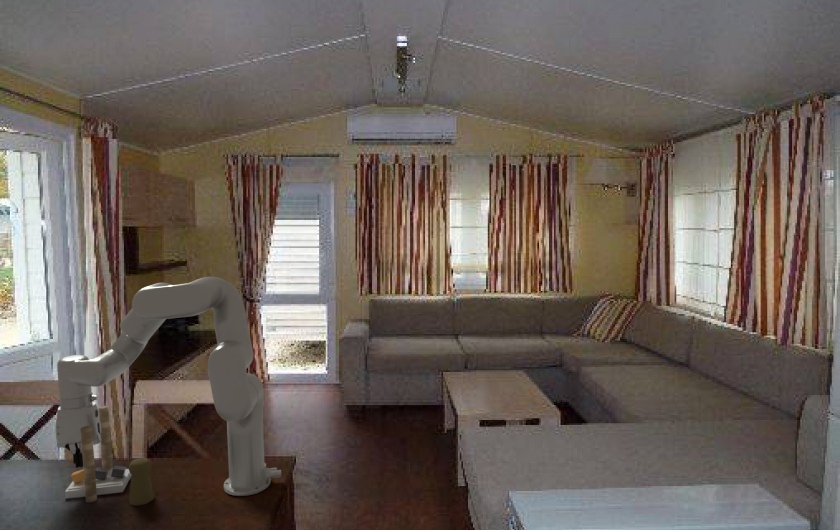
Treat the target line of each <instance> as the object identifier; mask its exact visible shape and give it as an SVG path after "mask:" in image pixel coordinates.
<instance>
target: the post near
mask: <svg viewBox="0 0 840 530" xmlns="http://www.w3.org/2000/svg"><path fill="white" fill-rule="evenodd" d="M80 430H81V443H82V456H83V467H82V468H83V469H84V483H85V496H84V497H85V502H86V503H88V504H89V503H93V502H96V501H97V500H98V495H97V490H96V476H95V470H96V467H95V466H96V465H95V453H94V452H95V451H94V445H93V435H92V426H85V427H82V428H81V429H80ZM81 443H80V444H81Z"/></svg>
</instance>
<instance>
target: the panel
mask: <svg viewBox="0 0 840 530" xmlns="http://www.w3.org/2000/svg"><path fill="white" fill-rule="evenodd" d="M111 475H112V471H108V474H107V478H106V479H105V480H98V479H96V490H97V496H101V495H109V494H110V495H111V494H118V493H123V492H124V490H125V489H126V487H127V485H128V483H129V481H131V473H130V471H129V468H126V470H125V475H124V477H123V478H116V477H111ZM64 496H65V499H74V498H83V497H84V498H85V497H86V496H85V483H84V480H83V481H80V482H77V483H74V482H73V480H72V482H71V483H70V484H69V486H68V487H67V488H66V489H65V491H64Z"/></svg>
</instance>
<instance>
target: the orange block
mask: <svg viewBox="0 0 840 530" xmlns="http://www.w3.org/2000/svg"><path fill="white" fill-rule="evenodd" d="M70 477H71V479H72V481H73V482H74V483H77V482H80V481H83V480H84V469H80V470H77V471H74V472H73V473H72V474H71V476H70Z"/></svg>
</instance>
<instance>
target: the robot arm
mask: <svg viewBox="0 0 840 530" xmlns="http://www.w3.org/2000/svg"><path fill="white" fill-rule="evenodd" d="M131 301H132V302H131V309H130V310H129V312H127V314H126V315H125V316H124V318H122V320H121V321H120V323H119V328H120V329H121V334H120V335H119V336H118V338H117V339H116V340H115V342H114V343H112V345H111V346H110V348H109V349H108V350H107V351H105V352H103V353H102V354H99V355H97V356H96V357H92V358H89V357H88V356H86V355H83V354H74V355H67V356H64V357H61V358H60V359H59V360H58V361H57V364H56V368H57V369H56V370H57V382H58V393H59V394H58V395H59V406H58V408H57V412H56V418H55V419H56V420H55V441H56V447H57V448H63V449H66V450H67V451H69V452H70V454H72V459H73V464H75V469H78V468H83V456H82V443H81V430H80V429H81V428H82V427H85V426H92V435H93V446H95V445H98V444H101V437H100V434H101V423H100V417H99V412H98V408H99V407H98V405H97V403H96V402H95V401H98V400H99V399H98V398H99V396H98V395H94V394H93V392H92V388H93V387H94V388H97V387H102V386H104V385H106V384H108V383H109V382H111V381H113V380H114V379H116V378H117V377H119V376H120V375H123V373H125V372H126V371H127V370H128V368H130V366H131V365H132V364H133V363H134V362H135V360H137V358H138V357H139V356H140V355H141V353H142V352H143V351H144V349H145V347H146V345H147V344H148V343H149V340H150V339H151V338H152V337H153V335H154V334H155V333H156V332H157V330H158V329H159V328H160V327H161V326H162V325H163V323H165V321H166V320H167V319H168V320H170V319H177V318H186V317H194V316H198V315H201V314H204V313H205V312H208V311H209V310H212V312H213V327H214V331H215V337H216V343H217V344H216V345H217V346H216V347H215V348H214V349H212V351H211V353H210V355H209V356H208V360H207V374H208V375H207V376H208V379H209V384H210V390H211V395H212V400H213V404H214V407H215V410H216V412H217V414H218V415H219V416H220V418H221V419H223V420H224V421H226V429H227V431H226V432H227V433H226V434H227V435H226V436H227V455H228V460H227V461H228V478H227V479H225V481H224V483H223V490H224V492H225V493H226V494H229V495H230V496H231V495H232V496H236V497H246V496H252V495H256V494H260V492H263V491H264V490H266V489H267V488H268V487H269V486H270V485H271V482H272V481H271V480H272V479H273V478H277V479H278V478H282V470H281V469H278V467H271V468H269V467H267V463H266V462H265V446H264V445H265V444H264V443H265V442H264V401H265V394H264V393H265V391H264V386H263V383H262V381H261V379H260V378H259V377H258V376H257V375H256V374H253V373H250V372H249V373H248V372H247V369H248V368H249V366H250V365H251V364H252V363H253V361H254V356H255V355H254V350H253V346H252V341H251V340H252V339H251V334H250V331H249V330H250V329H249V325H248V322H247V315H246V310H245V304H244V302H243V297H242V296H241V294H240V291H239V290H238V289H237V288H236V287H235V285H233V284H232V283H231V282H230V281H228V280H226V279H224V278H221V277H217V276H204V277H201V278H198V279H195V280H193V281H191V282H187V283H181V284H174V285H173V284H170V283H167V282H156V283H154V284H151V285H148V286H144V287H142V288H141V289H139V290H138V291H137V292H136V293H135V294H134V296H133V298H132V300H131ZM79 443H80V445H79Z"/></svg>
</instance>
